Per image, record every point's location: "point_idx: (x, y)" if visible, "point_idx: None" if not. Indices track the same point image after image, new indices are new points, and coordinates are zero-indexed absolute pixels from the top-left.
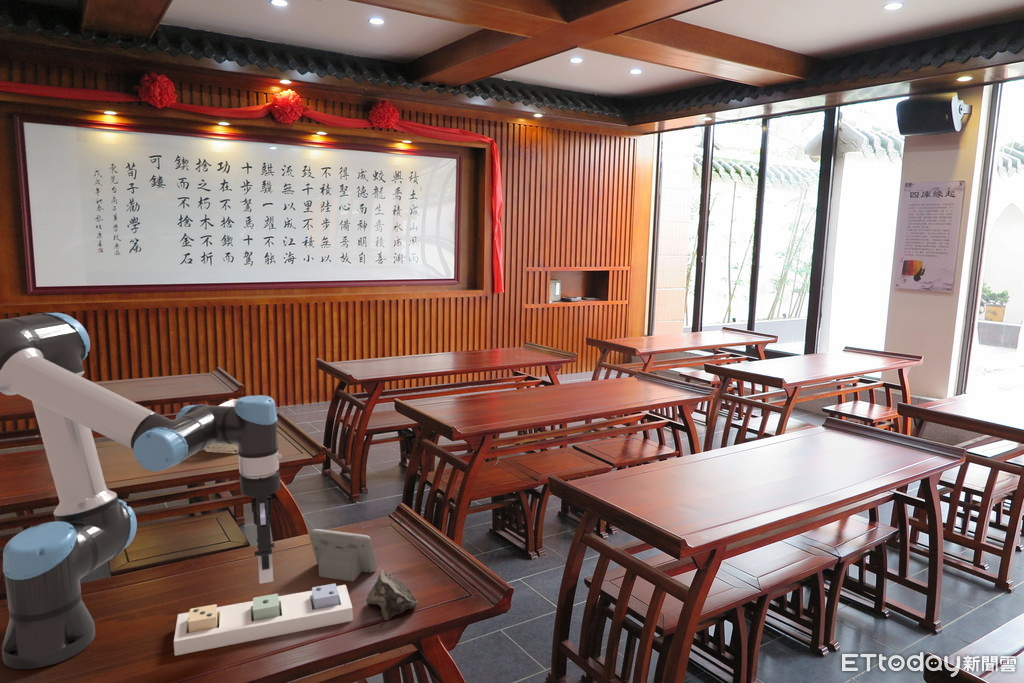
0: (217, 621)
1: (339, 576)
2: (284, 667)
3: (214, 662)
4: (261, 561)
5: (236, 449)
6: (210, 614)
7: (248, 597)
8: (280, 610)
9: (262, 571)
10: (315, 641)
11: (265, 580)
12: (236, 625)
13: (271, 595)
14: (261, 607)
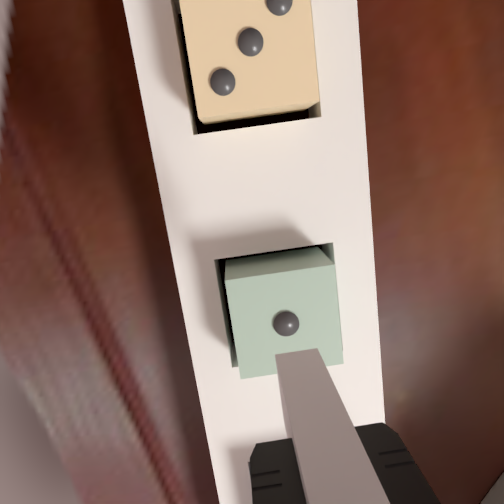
0: (287, 112)
1: (498, 497)
2: (15, 367)
3: (68, 140)
4: (301, 478)
5: None
6: (222, 86)
7: (480, 199)
8: None
9: (288, 420)
10: (142, 440)
11: (280, 393)
12: (195, 205)
13: (333, 340)
14: (241, 311)
